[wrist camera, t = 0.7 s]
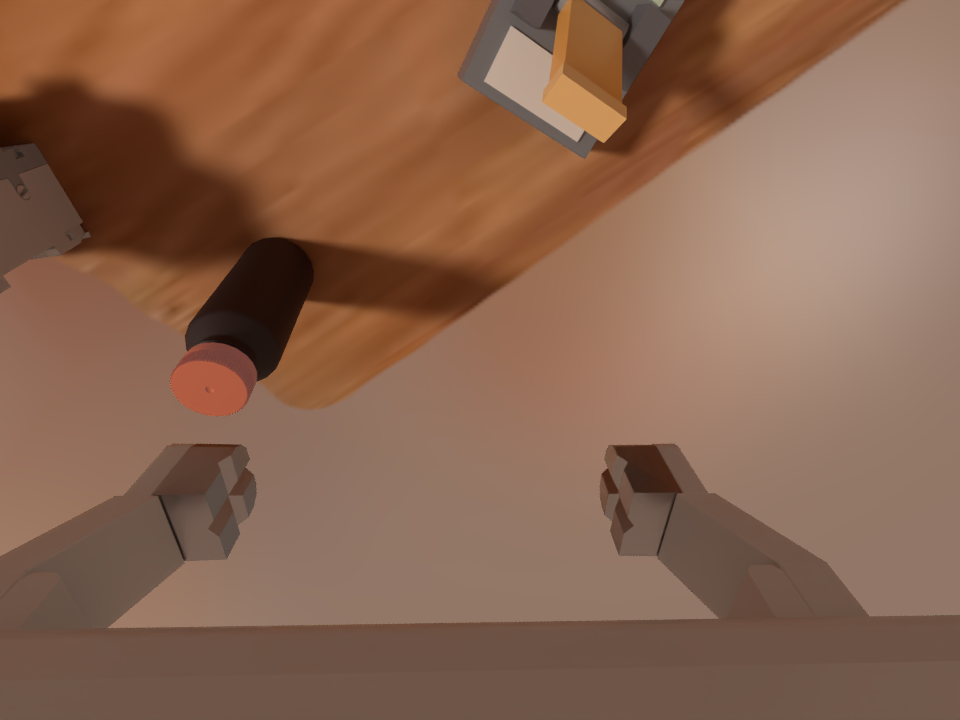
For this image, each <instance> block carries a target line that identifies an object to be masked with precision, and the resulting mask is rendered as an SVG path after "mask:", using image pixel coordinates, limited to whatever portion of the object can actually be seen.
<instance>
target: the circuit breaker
mask: <svg viewBox="0 0 960 720" xmlns="http://www.w3.org/2000/svg"><path fill="white" fill-rule="evenodd" d="M81 223H83V221H82V220H81V218H80V216H79V215H78V213H77V211H76V210H75V208H74V206H73V205H72V203H71V202H70V200H69V198H68V197H67V195H66V193H65V192H64V190H63V188H62V187H61V185H60V183H59V182H58V180H57V178H56V177H55V175H54V173H53V172H52V170H51V169H50V167H49V165H48V164H47V162H46V160H45V159H44V157H43V155H42V154H41V152H40V150H39V149H38V147H37V146H36V144H35V143H31V144H24V145H16V146H9V147H2V148H0V293H2V292H3V291H5V290H6V289H8V288H10V287H11V286H10V284H9V283H8V282H7V281H6V279H5V278H4V277H3V275H4V274H6V273H8V272H10V271H11V270H13V269H15V268H16V267H18V266H20V265H22V264H23V263H25V262H27V261H28V260H30V259H37V258H44V257H51V256H58V255H62V254H64V253H65V252H67V251H69V250H70V249H72V248H73V247H75V246H77V245H78V244H80V243H81V242H82V241H81V240H83V239H85V238H89V237H91V235H90V233H89V232H84V230H83V229H82V227H81V226H80V224H81Z"/></svg>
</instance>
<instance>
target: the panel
mask: <svg viewBox="0 0 960 720" xmlns="http://www.w3.org/2000/svg"><path fill="white" fill-rule="evenodd" d="M554 1H555V0H492V1H491V3H490V5H489V8H488V10H487V12H486V14H485V16H484V19H483V21H482V23H481V25H480V27H479V29H478V32H477V34H476V36H475V38H474V40H473V43H472V45H471V47H470V49H469V51H468V53H467V56H466V58H465V60H464V62H463V64H462V67H461V69H460V71H459V73H458V75H457V76H458V77H459V78H460V79H461V80H462V81H463V82H464V83H466V84H468V85H469V86H471V87H472V88H474V89H475V90H477V91H479V92H480V93H482V94H483V95H485V96H486V97H488V98H490V99H491V100H493V101H494V102H496V103H497V104H499V105H501V106H502V107H504V108H505V109H507V110H508V111H510V112H511V113H513V114H515V115H516V116H518V117H519V118H521V119H522V120H524V121H526V122H527V123H529V124H530V125H532V126H533V127H535V128H537V129H538V130H540V131H541V132H543V133H544V134H546V135H547V136H549V137H551V138H552V139H554V140H555V141H557V142H558V143H560V144H562V145H563V146H565V147H566V148H568V149H569V150H571V151H573V152H574V153H576V154H577V155H579V156H580V157H582V158H584V159H585V158H586V157H587V155H588V153H589V152H590V150H591V149H592V147H593V145H594V144H595V142H596V141H597V138H595V137H594V136H592V135H591V134H589V133H588V132H586V131H585V130H583V129H582V128H580V127H579V126H577V125H576V124H574V123H573V122H571V121H570V120H568V119H567V118H565V117H564V116H562V115H561V114H559V113H558V112H556V111H555V110H553V109H552V108H550V107H549V106H547V105H546V104H544V103H543V102H542V97H543V90H544V89H545V87H546V86H547V85H548V83H549V79H550V72H551V64H552V57H553V49H554V42H555V34H556V27H557V20H558V14H559V13H558V12H557V11H556V10H554V9H553V4H554ZM600 1H601V2H602V3H604V4H605V5H606V6H607V7H609V8H610V9H611V10H612V11H614V12H615V13H616V14H617V15H619V16H620V17H621V18H622V19H624V20H625V21H626V22H627V23H628V24H629V27H628V30H627V32H626V35H625V36H624V38H623V40H622V99H623V98H624V96H625V94H626V93H627V91H628V90H629V88H630V87H631V85H632V83H633V82H634V80H635V79H636V77H637V75H638V74H639V72H640V71H641V69H642V67H643V66H644V64H645V63H646V61H647V59H648V58H649V56H650V55H651V53H652V51H653V50H654V48H655V47H656V45H657V44H658V42H659V40H660V39H661V37H662V36H663V34H664V32H665V31H666V29H667V28H668V26H669V24H670V23H671V21H672V20H673V18H674V16H675V15H676V13H677V12H678V10H679V9H680V7H681V5H682V4H683V2H684V1H685V0H600Z"/></svg>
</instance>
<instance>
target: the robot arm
mask: <svg viewBox="0 0 960 720" xmlns="http://www.w3.org/2000/svg"><path fill="white" fill-rule="evenodd" d="M249 460H250V458H249V455H248V452H247V448H246V447H244V446H242V445H231V444H230V445H229V444H172V445H169V446H167V447H166V448H165V449H164V450H163V451H162V452H161V453H160V454H159V456H158V457H157V458H156V459H155V460H154V461H153V463H152V464H151V465H150V466H149V467H148V468H147V469H146V470H145V472H144V473H143V474H142V475H141V476H140V477H139V478H138V480H137V481H136V482H135V483H134V484H133V485H132V486H131V488H130V489H129V490H128V491H127V492H126V493H125V494H124V496H114V497H113V498H111V499H109V500H107V501H105V502H103V503H101V504H99V505H97V506H95V507H93V508H92V509H90V510H88V511H86V512H84V513H82V514H81V515H78V516H76V517H74V518H72V519H71V520H69V521H67V522H65V523H63V524H61V525H59V526H57V527H55V528H53V529H51V530H50V531H48V532H46V533H44V534H42V535H40V536H38V537H36V538H34V539H32V540H30V541H29V542H27V543H25V544H23V545H21V546H19V547H17V548H15V549H13V550H11V551H9V552H8V553H6V554H4V555H2V556H0V720H960V615H940V616H939V615H938V616H937V615H935V616H873V617H872V616H871V617H870V616H869V615H868V614H867V613H866V611H865V610H864V609H863V608H862V606H861V605H860V604H859V603H858V601H857V600H856V599H855V598H854V596H853V595H852V594H851V593H850V591H849V590H848V589H847V588H846V586H845V585H844V584H843V582H842V581H841V580H840V579H839V577H838V576H837V575H836V574H835V572H834V571H833V570H832V569H831V567H830V566H829V565H828V564H827V563H826V562H825V561H823V560H822V559H820V558H818V557H816V556H815V555H814V554H812V553H810V552H809V551H807V550H805V549H804V548H802V547H801V546H799V545H797V544H796V543H794V542H793V541H791V540H789V539H788V538H786V537H785V536H783V535H781V534H780V533H778V532H776V531H775V530H773V529H772V528H770V527H768V526H767V525H765V524H763V523H762V522H760V521H759V520H757V519H755V518H754V517H752V516H751V515H749V514H747V513H746V512H744V511H742V510H741V509H739V508H738V507H736V506H734V505H733V504H731V503H730V502H728V501H727V500H725V499H723V498H722V497H720V496H718V495H717V494H714V493H711V494H710V493H708V492H707V490H706V489H705V487H704V486H703V484H702V483H701V481H700V480H699V478H698V476H697V475H696V473H695V472H694V470H693V469H692V467H691V466H690V464H689V462H688V461H687V459H686V458H685V456H684V455H683V453H682V452H681V450H680V448H679V447H678V446H677V445H675V444H652V445H609V446H608V448H607V450H606V454H605V462H606V464H607V467H608V469H606V470H605V471H604V472H603V473H602V475H601V481H600V500H601V505H602V509H603V512H604V515H605V516H606V517H608V518H609V519H610V520H611V521H612V525H611V529H610V532H611V535H612V538H613V540H614V543H615V546H616V549H617V551H618V554H619V555H620V556H658V559H659V560H660V561H661V562H662V563H663V564H664V565H665V566H666V567H667V568H668V569H669V570H670V571H671V572H672V573H673V574H674V575H675V576H676V577H677V578H678V579H679V580H680V581H681V582H682V583H683V584H684V585H685V586H687V588H688V589H689V590H691V592H693V593H694V594H695V595H696V596H697V597H698V598H699V599H700V600H701V601H702V602H703V603H704V604H705V605H706V606H707V607H708V608H709V609H710V610H711V611H712V612H713V613H714V614H715V615H716V616H717V617H718V618H719V619H679V620H678V619H677V620H616V621H615V620H614V621H553V622H552V621H551V622H549V621H547V622H481V623H416V624H356V625H355V624H353V625H291V626H290V625H288V626H228V627H227V626H225V627H161V628H108V627H109V626H110V625H111V624H113V623H114V622H115V621H116V620H117V619H119V618H120V617H121V616H122V615H123V614H124V613H126V612H127V611H128V610H129V609H130V608H132V607H133V606H134V605H135V604H136V603H138V602H139V601H140V600H141V599H142V598H144V597H145V596H146V595H147V594H148V593H149V592H151V591H152V590H153V589H154V588H155V587H157V586H158V585H159V584H160V583H161V582H163V581H164V580H165V579H166V578H167V577H169V576H170V575H171V574H172V573H173V572H174V571H176V570H177V569H178V568H179V567H181V566H182V565H183V564H184V561H196V560H222V559H227V558H228V556H229V554H230V552H231V550H232V548H233V546H234V544H235V542H236V540H237V539H238V537H239V535H240V532H239V528H238V524H240V523H241V522H243V521H244V520H245V519H247V518H248V517H249V515H250V513H251V511H252V509H253V507H254V503H255V498H256V481H255V477H254V474H252V473H251V472H250V471H249V470H248V469H247V468H245V467H246V465H247V463H248V462H249Z"/></svg>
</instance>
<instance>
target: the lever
mask: <svg viewBox="0 0 960 720" xmlns="http://www.w3.org/2000/svg"><path fill="white" fill-rule="evenodd" d="M553 9H554V10H556V11H557V12H558V13H559V14H558V20H557V27H556V34H555V42H554V49H553V57H552V64H551V72H550V79H549V83H548V85H547V86H546V87H545V89H544V90H543V97H542V102H543V103H544V104H546V105H547V106H549V107H550V108H552V109H553V110H555V111H556V112H558V113H559V114H561V115H562V116H564V117H565V118H567V119H568V120H570V121H571V122H573V123H574V124H576V125H577V126H579V127H580V128H582V129H583V130H585V131H586V132H588V133H589V134H591V135H592V136H594V137H595V138H597V139H598V140H600V141H601V142H603V143H605V142H606V140H607V139H608V138H609V137H610V136H611V135H612V134H613V133H614V132H615V131H616V130H617V129H618V128H619V127H620V126H621V125H622V124H623V122H624V121H625V120H626V119H627V107H626V106H625V105H624V104H622V40H623V38H624V36H625V35H626V32H627V30H628V27H629V24H628V23H627V22H626V21H625V20H624V19H622V18H621V17H620V16H619V15H617V14H616V13H615V12H614V11H612V10H611V9H610V8H609V7H607V6H606V5H605V4H604V3H602V2H601V1H600V0H555V1H554V4H553Z"/></svg>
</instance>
